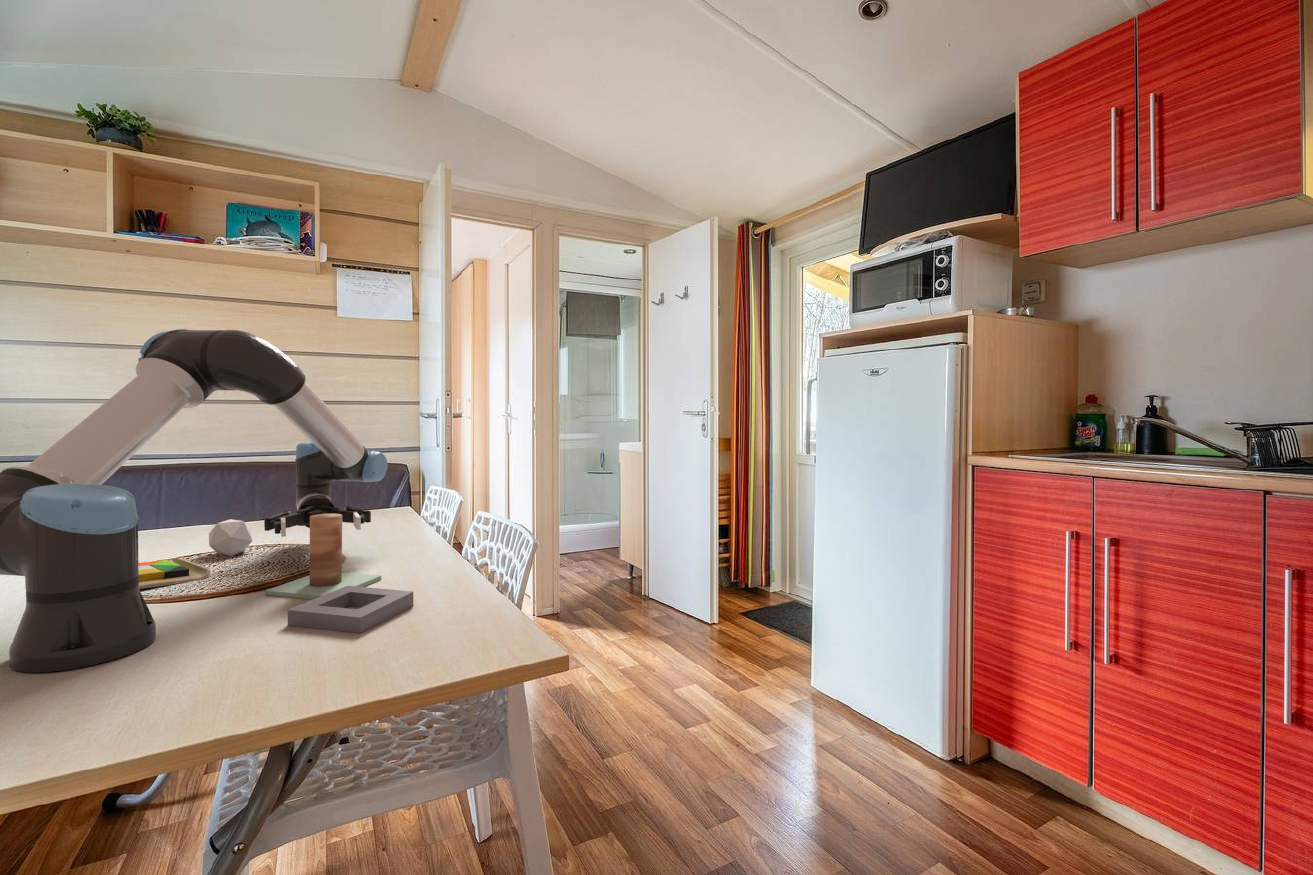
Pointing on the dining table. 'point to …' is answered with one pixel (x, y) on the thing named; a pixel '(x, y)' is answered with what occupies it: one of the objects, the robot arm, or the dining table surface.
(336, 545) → the brown wooden cylinder
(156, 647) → the dining table surface
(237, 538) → the die
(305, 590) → the board
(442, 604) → the dining table surface
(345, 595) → the pocket plate
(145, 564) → the wooden puzzle
